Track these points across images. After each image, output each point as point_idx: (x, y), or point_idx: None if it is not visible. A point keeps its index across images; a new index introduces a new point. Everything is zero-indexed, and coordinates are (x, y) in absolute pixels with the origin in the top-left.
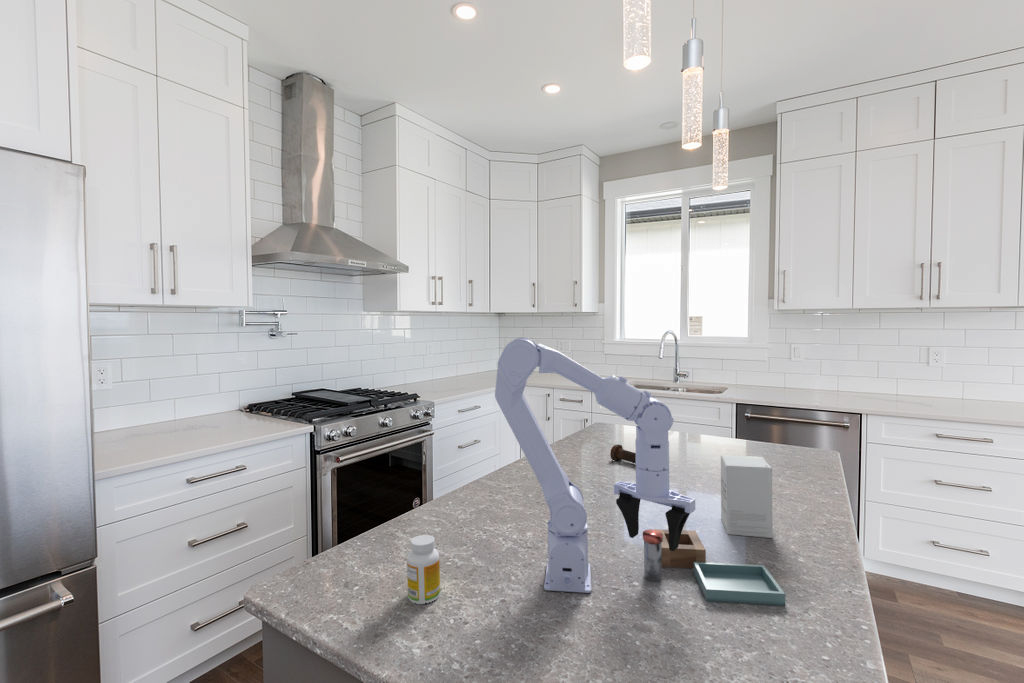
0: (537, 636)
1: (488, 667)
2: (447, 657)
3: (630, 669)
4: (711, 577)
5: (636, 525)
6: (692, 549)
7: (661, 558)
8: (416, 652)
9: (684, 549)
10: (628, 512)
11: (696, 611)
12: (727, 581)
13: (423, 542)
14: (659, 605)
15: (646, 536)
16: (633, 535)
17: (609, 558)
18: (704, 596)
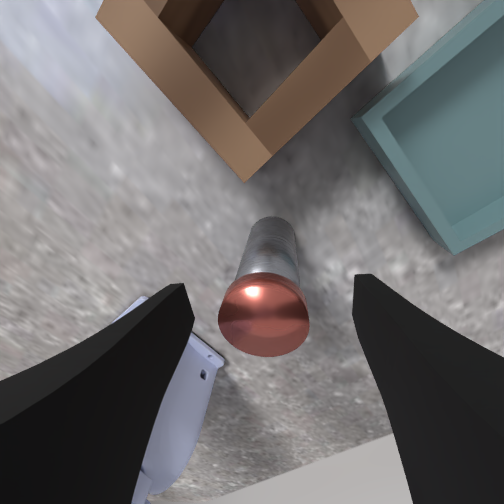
0: (250, 441)
1: (254, 477)
2: (218, 482)
3: (375, 433)
4: (426, 117)
5: (167, 320)
6: (354, 76)
7: (296, 258)
8: (195, 486)
9: (321, 107)
10: (143, 458)
11: (420, 289)
12: (490, 96)
13: None
14: (342, 316)
15: (259, 355)
16: (190, 319)
17: (138, 236)
18: (424, 226)
